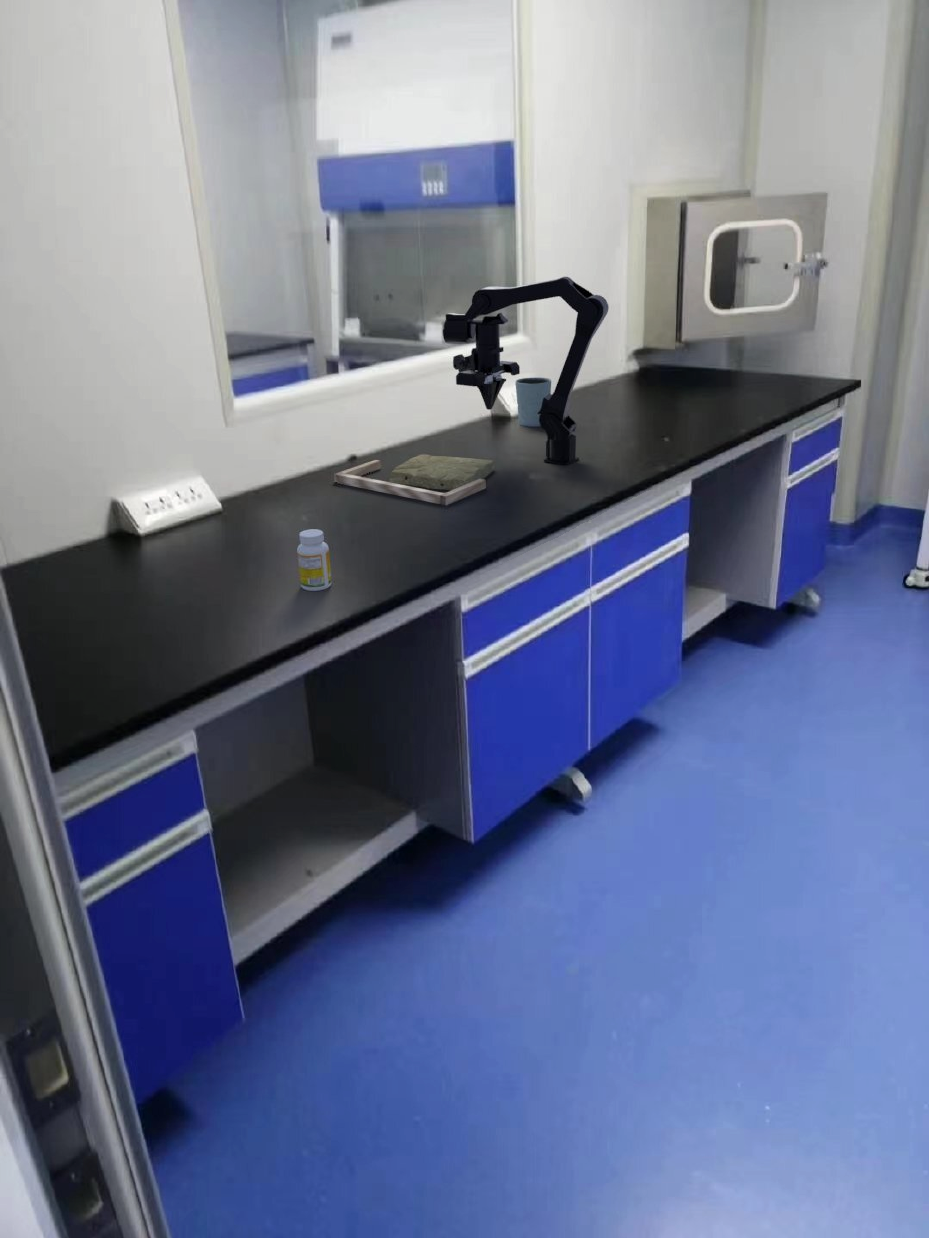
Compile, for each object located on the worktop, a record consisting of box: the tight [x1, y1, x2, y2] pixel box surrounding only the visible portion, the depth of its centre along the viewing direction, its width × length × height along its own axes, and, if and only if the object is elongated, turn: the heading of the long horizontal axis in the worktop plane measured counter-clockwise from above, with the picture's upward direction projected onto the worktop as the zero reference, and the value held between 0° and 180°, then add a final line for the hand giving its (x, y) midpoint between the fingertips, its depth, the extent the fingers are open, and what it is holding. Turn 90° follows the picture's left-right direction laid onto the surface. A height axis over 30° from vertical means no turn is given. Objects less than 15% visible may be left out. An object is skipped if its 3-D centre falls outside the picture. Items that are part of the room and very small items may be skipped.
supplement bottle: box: [296, 528, 332, 592], centre depth 160 cm, size 5×5×10 cm
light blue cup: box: [515, 377, 552, 428], centre depth 263 cm, size 10×10×12 cm
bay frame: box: [333, 459, 487, 506], centre depth 214 cm, size 33×14×2 cm, turn 53°
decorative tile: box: [389, 453, 495, 491], centre depth 219 cm, size 19×20×4 cm
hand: (489, 409), depth 229 cm, fingers closed
